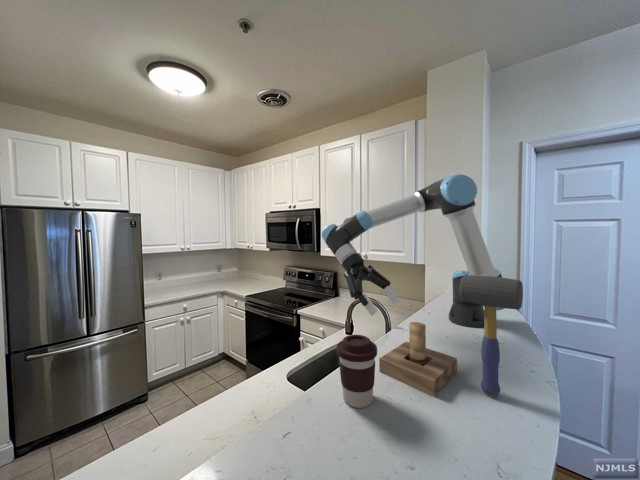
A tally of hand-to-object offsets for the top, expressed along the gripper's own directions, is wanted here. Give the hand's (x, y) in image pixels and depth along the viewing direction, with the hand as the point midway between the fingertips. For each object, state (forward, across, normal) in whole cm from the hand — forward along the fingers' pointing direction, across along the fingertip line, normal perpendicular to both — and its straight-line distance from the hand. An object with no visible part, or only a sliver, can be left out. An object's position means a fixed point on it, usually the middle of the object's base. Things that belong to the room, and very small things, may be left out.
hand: (386, 308), depth 80 cm
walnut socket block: (+19, 0, -5) cm, 20 cm away
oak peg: (+19, 0, -5) cm, 20 cm away
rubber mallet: (+32, -3, +8) cm, 33 cm away
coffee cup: (+16, +22, -8) cm, 28 cm away
